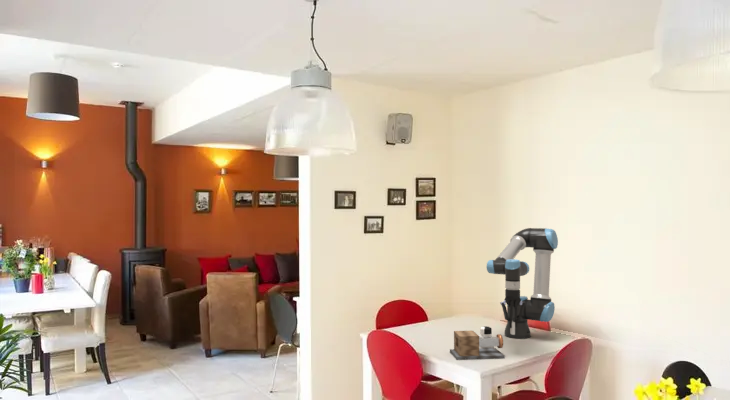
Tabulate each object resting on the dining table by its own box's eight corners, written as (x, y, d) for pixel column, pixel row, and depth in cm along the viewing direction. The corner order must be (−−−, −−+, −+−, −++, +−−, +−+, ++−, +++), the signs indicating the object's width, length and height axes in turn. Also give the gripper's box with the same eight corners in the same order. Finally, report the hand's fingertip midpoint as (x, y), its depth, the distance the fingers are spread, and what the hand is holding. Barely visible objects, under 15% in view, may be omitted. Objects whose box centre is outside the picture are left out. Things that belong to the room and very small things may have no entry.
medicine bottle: (490, 347, 299) (490, 325, 299) (494, 350, 292) (494, 328, 292) (477, 347, 299) (477, 325, 299) (481, 351, 292) (481, 328, 292)
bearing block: (495, 350, 292) (495, 329, 292) (504, 358, 278) (504, 335, 278) (449, 352, 289) (449, 330, 289) (456, 359, 275) (456, 337, 275)
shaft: (498, 346, 288) (498, 332, 288) (503, 349, 281) (503, 336, 281) (466, 347, 287) (466, 333, 287) (470, 350, 280) (470, 337, 280)
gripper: (503, 290, 281) (503, 335, 281) (527, 289, 282) (527, 335, 282) (498, 288, 289) (498, 332, 288) (522, 287, 290) (521, 332, 289)
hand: (512, 334), depth 285 cm, fingers closed
